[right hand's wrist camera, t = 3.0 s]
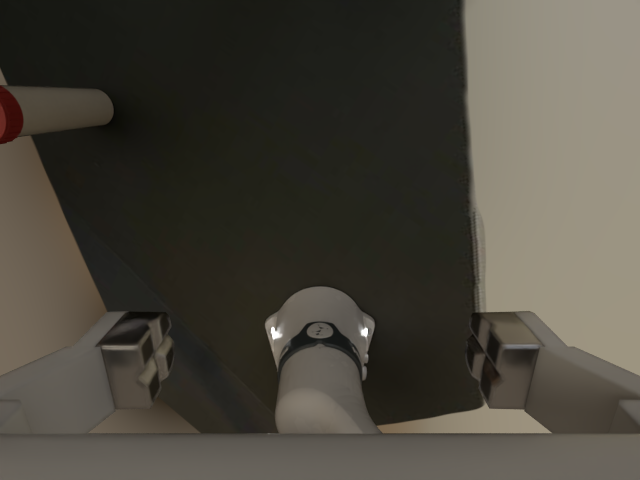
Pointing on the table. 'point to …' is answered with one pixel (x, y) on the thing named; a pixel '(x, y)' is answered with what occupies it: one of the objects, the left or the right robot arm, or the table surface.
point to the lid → (9, 116)
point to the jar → (61, 108)
